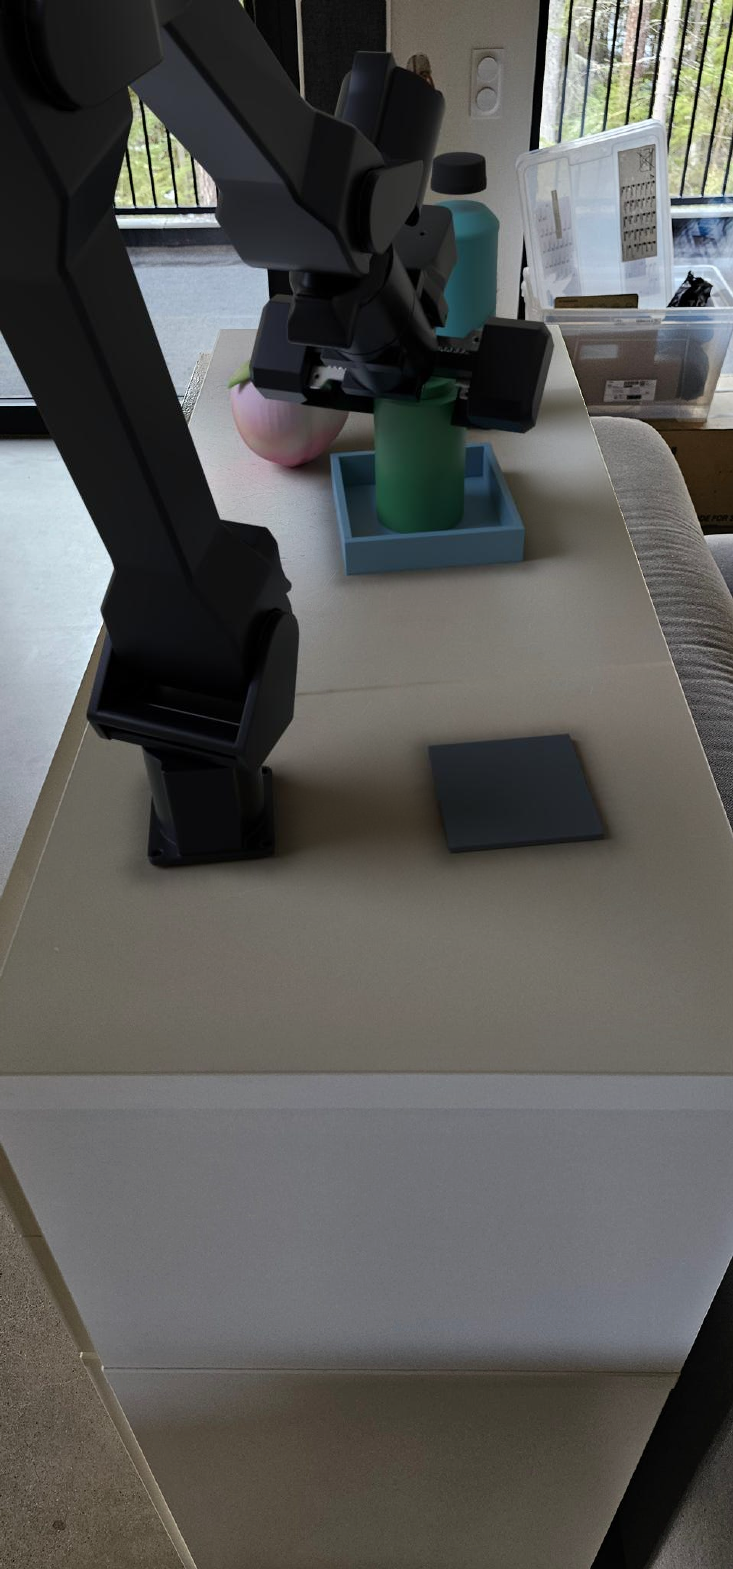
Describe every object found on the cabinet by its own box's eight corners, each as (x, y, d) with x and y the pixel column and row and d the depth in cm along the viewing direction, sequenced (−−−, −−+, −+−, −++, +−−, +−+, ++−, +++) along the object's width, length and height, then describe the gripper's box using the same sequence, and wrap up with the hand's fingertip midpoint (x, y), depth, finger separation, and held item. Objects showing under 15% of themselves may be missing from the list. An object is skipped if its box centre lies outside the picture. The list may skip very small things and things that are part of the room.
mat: (604, 838, 56) (605, 833, 56) (449, 853, 56) (449, 847, 56) (568, 738, 62) (569, 733, 62) (428, 750, 62) (428, 745, 61)
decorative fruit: (315, 431, 92) (307, 309, 85) (369, 467, 87) (365, 340, 80) (216, 462, 89) (199, 337, 82) (265, 502, 83) (252, 372, 77)
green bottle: (470, 532, 78) (476, 365, 70) (381, 538, 78) (377, 371, 70) (456, 489, 83) (460, 328, 75) (372, 495, 83) (367, 334, 75)
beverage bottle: (488, 440, 90) (501, 168, 77) (408, 435, 91) (407, 166, 78) (497, 406, 95) (511, 145, 81) (421, 402, 96) (422, 143, 82)
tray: (522, 566, 76) (525, 528, 74) (346, 580, 75) (344, 542, 73) (488, 477, 85) (490, 441, 83) (332, 488, 85) (330, 453, 83)
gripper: (561, 177, 59) (585, 315, 74) (249, 157, 65) (330, 289, 80) (513, 378, 59) (547, 475, 74) (205, 340, 65) (295, 439, 80)
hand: (427, 413), depth 77 cm, fingers closed on green bottle, 6 cm apart
